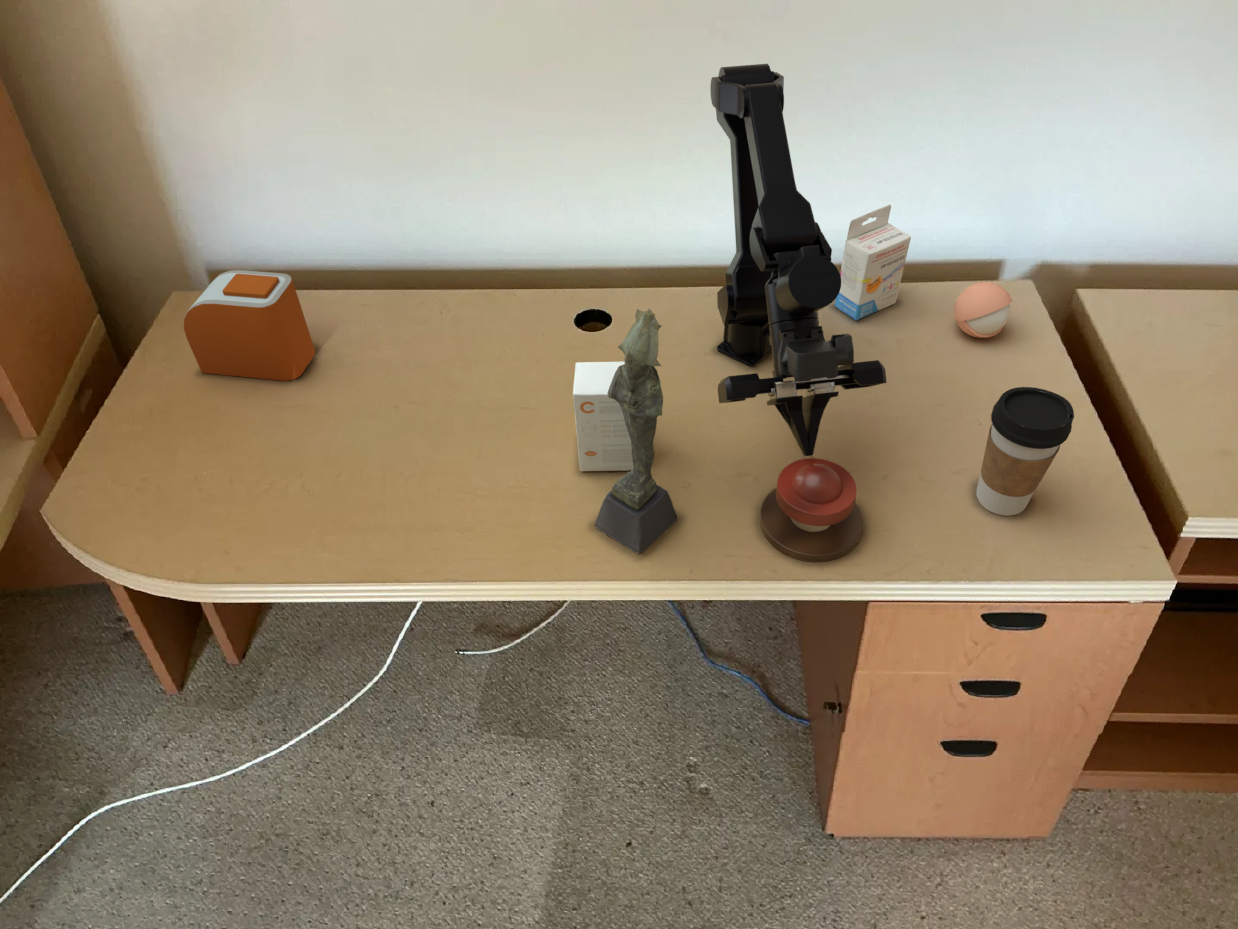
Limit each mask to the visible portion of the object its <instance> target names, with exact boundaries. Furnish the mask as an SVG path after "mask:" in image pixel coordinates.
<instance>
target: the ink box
mask: <svg viewBox="0 0 1238 929" xmlns="http://www.w3.org/2000/svg"><path fill="white" fill-rule="evenodd" d="M891 210H892V205H891V204H887V205H885V206H883V207H880V208H877V209H874V210H872V211H870V212H867V213H865V214H862V215H860V216H858V217H855V218H853V219H851V220H850V221H849V222H850V223H849V226H848V231H847V236H846V239H845V242H844V250H843V255H842V261H841V267H840V272H839V274H840V275H841V288H840V292H839V294H838V296H837V297H836V299H835V300H834V301H835V302H834V307H835V308H837V309H838V310H840V312H843V313H844V314H846V315H847V316H848V317H850V318H851V319H853V320H854V321H859V320H861V319H863V318H865V317H867V316H870V315H871V314H874V313H877V312H879V311H881V310H883V309H886V308H888V307H890V306H893V305H894V304H896V303H897V300H898V295H899V291H900V287H901V282H902V277H903V274H904V269H905V264H906V261H907V256H908V251H909V248H910V243H911V239H912V236H911V235H909V234H908V233H906V232H904V231H902V230H901V229H899V228H898V227H896V226H894V225H893V224H892V223H890V222H889V219H890V215H891V214H890V213H891ZM870 218H871V219H874V218H875V220H873V221H870V222H867V221H868V220H869V219H870ZM866 222H867V223H866ZM863 223H865V224H863Z"/></svg>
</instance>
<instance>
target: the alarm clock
mask: <svg viewBox="0 0 1238 929" xmlns="http://www.w3.org/2000/svg"><path fill="white" fill-rule="evenodd" d="M183 331H184V334H185V337H186V340H187V342H188V344H189V347H190V349H191V351H192V353H193V356H194V359H195V361H196V363H197V365H198V367H199V369H200V372H201V373H202V374H210V375H211V374H212V375H220V376H232V377H240V378H250V379H251V378H252V379H261V380H273V381H282V382H289V381H293V380H295V379H297V378H299V377H301V376H302V374H303V373H305V370H306V368H307V367H308V366H309V364H310V362H311V361H312V359H313V358H314V356H315V354H316V349H315V348H316V347H315V345H314V343H313V340H312V335H311V333H310V329H309V328H308V324H307V321H306V318H305V315H304V311H303V308H302V305H301V302H300V299H299V296H298V293H297V289H296V286H295V283H294V280H293V278H292V276H290V275H289V274H287V273H281V272H269V271H259V270H258V271H257V270H245V269H233V270H228V271H225V272H221V273H220V274H219V275H217V276H216V277H215V278H214V279H213V280H212V281H211V282H210V284H209V285H208V286H207V287H206V288H205V290H204V291H203V292H202V293H201V294H200V296H199V297H198V298H197V299H196V300H195V302H194V303H193V304H192V305H191V306H190V307H189V309H188V310H187V311H186V313H185V316H184V318H183Z"/></svg>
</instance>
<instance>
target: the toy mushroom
mask: <svg viewBox="0 0 1238 929" xmlns="http://www.w3.org/2000/svg"><path fill="white" fill-rule="evenodd" d="M776 481H777V482H776V488H774V489H773V490H771V491H770V492H769V493H768V494H767V495H766V497H765V498H764V500H763V501H762V504H761V507H760V513H759V525H760V529H761V532H762V534H763V535H764V538H765V539H766V540H767V542H768V543H769V544H771V546H772V547H773V548H774V549H776V550H777V551H779V552H781V553H782V554H784V555H786V556H788V557H790V558H793V559H795V560H799V561H802V562H803V561H804V562H811V563H822V562H830V561H833V560H836V559H839V558H841V557H844V556H845V555H847V554H848V553H850V552H851V551H852V550H854V548H855V547H856V546H857V545H858V543H859V541H860V539H861V535H862V532H863V528H864V519H863V514H862V511H861V510H860V509H861V508H860V507H859V506H858V503H857V502H856V498H857V492H858V488H857V483H856V480H855V478H854V477H853V475H852V474H851V473H850V472H849V471H848V470H847V469H845V467H843V466H841V465H840V464H838V463H836V462H833V461H830V460H828V459H823V458H815V457H810V458H809V457H808V458H801V459H797V460H794V461H793V462H791V463H789V464H787V465H786V466H784V467H783V469H782V470H781V471H780V473H779V474H778V477H777V480H776Z"/></svg>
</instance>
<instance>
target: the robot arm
mask: <svg viewBox="0 0 1238 929" xmlns="http://www.w3.org/2000/svg"><path fill="white" fill-rule="evenodd" d="M718 70H719V71H718V76H712V77H711V79H710V87H709V88H710V101H711V105H712V107H713V108H715V114H716V121H717V123H718V124H719V126H720V128H721V129H722V130H723V133H725V135H726V136H727V138H728V139H729V144H730V146H729V147H730V161H731V162H730V165H731V180H732V181H731V182H732V198H733V216H734V234H735V236H734V237H735V253H734V255H733V257H732V260H731V262H730V263H729V266H728V268H727V270H726V272H725V285H723V286H722V287H721V288H720V289H719V290H718V291H717V293H716V295H717V297H716V298H717V299H716V300H717V309H718V312H719V315H720V319H721V321H722V324H723V340H722V341H721V342H720V343H719V344H718V345H717V346H716V351H717V352H719V353H721V354H723V355H725V356H727V357H729V358H731V359H734V360H736V361H738V362H739V363H742V364H744V365H745V366H748V367H755V366H756V365H757V364H758V363H760V361H762V360H764V359H765V358H766V357H767V356H768V355H770V354H771V357H772V365H773V370H772V377H765V378H760V377H759V374H758V372H755V373H746V374H738V375H728V376H726V377H724V378H722V379H720V380H719V382H718V384H717V396H718V404H727V403H735V402H745V401H746V400H747V399H753V398H754V399H755V398H756V397H757V395H764V394H767V396H768V397H769V400H767V401H766V405H767V406H774V407H775V408H776V410H777V411H778V413H779V414H780V416H781V417H782V418H783V420H784V421H785V423H786V425H787V426H788V428H789V430H790V432H791V433H792V436H793V437H794V440H795V441H796V444H797V445H798V447H799V449H800V451H801V453H802V456H804V457H810V456H813V455H814V452H815V448H816V443H817V439H818V433H819V429H820V425H821V421H822V418H823V415H824V412H825V409H826V408H827V405H828V403H829V402H830V400H831V399H832V398H836V397H839V392H840V391H835V388H836V387H838V386H840V387H841V388H842V389H843V390H845V391H846V390H854V389H863V388H871V387H875V386H880V385H884V384H887V374H886V372H887V371H886V368H885V366H884V364H883V363H882V362H881V361H880V360H879V359H875V360H867V361H857V362H855V360H854V359H855V350H854V343H853V336H852V335H851V334H849V333H839V334H832V335H831V337H830V340H826V339H825V336H824V335H825V334H824V330H823V326H822V325H820V321H819V311H820V310H823V309H824V308H826V307H827V306H829V305H831V304H832V303H833V302H834V301H836V297H837V296H838V294H839V292H840V288H841V275H840V272H839V270H838V268H837V266H836V265H835V264H834V263H833V262H832V253H833V252H832V251H833V249H832V246H830V243H829V242H828V240H827V238H826V236H825V235H824V233H823V232H822V230H821V227H820V225H819V222H816V221H815V216H814V212H813V208H812V205H811V203H810V201H809V200H808V199H806V198H805V197H804V195H802V193H801V192H800V191H798V189H797V184H796V180H795V173H794V169H793V162H792V158H791V152H790V146H789V140H788V134H787V130H786V124H785V118H784V108H785V94H784V86H785V76H784V75H783V74H781V73H779V72H777V71H773V70H771V67H770V65H769V63H758V64H745V65H744V64H743V65H732V66H731V65H730V66H722V67H720V68H719V69H718ZM788 378H793V379H794V380H786V379H788ZM784 380H785V381H784ZM800 390H805V394H806V396H803V395H798V394H797V393H798V392H797V391H800Z"/></svg>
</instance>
